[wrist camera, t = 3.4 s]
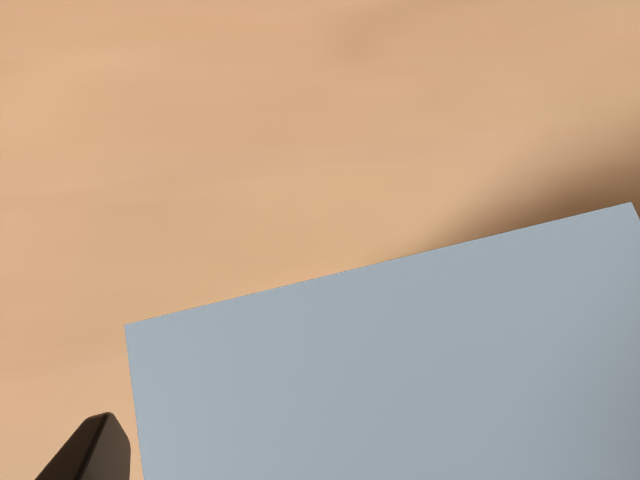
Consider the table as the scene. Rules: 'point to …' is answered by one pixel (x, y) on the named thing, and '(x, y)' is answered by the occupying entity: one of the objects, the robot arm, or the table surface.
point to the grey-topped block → (410, 367)
